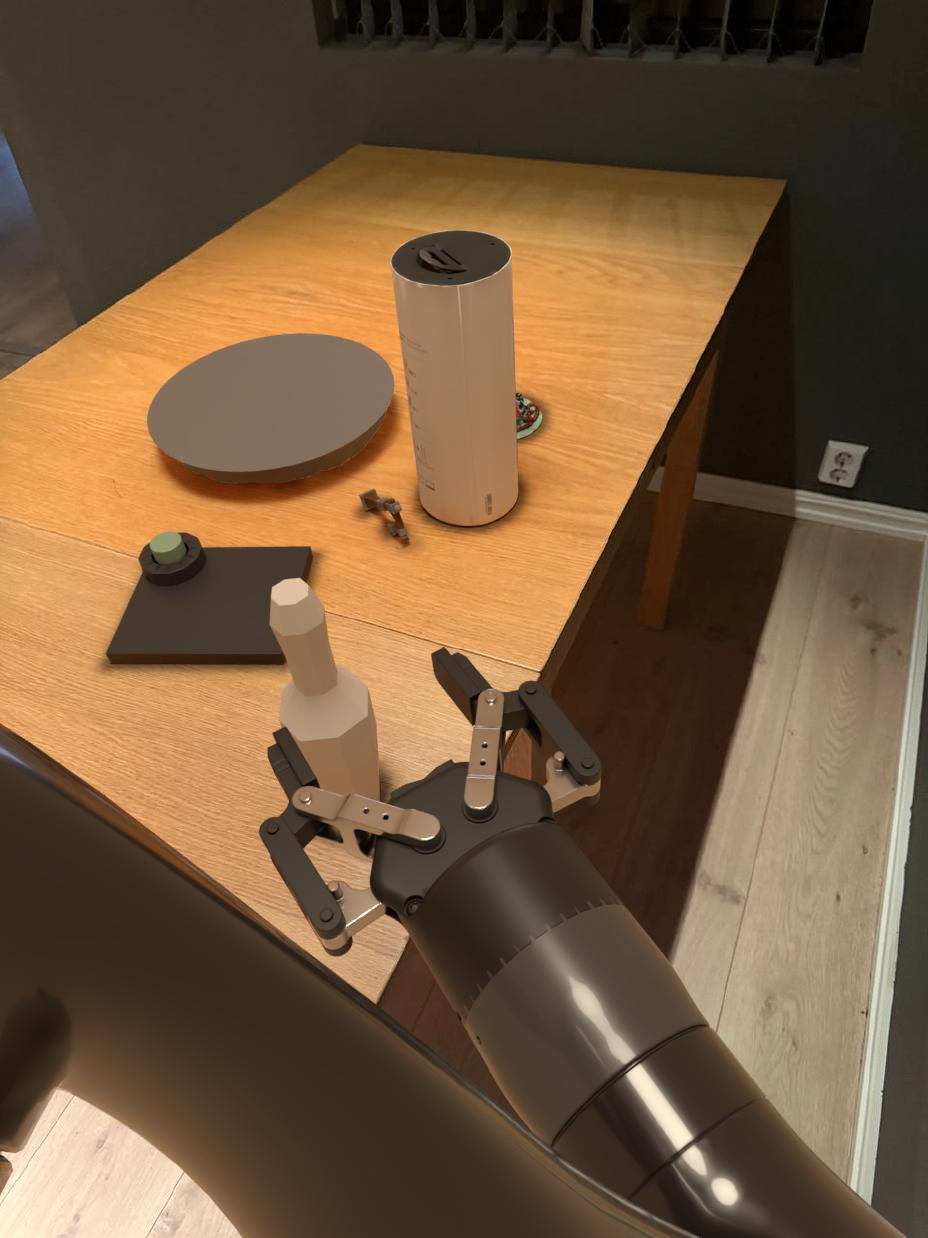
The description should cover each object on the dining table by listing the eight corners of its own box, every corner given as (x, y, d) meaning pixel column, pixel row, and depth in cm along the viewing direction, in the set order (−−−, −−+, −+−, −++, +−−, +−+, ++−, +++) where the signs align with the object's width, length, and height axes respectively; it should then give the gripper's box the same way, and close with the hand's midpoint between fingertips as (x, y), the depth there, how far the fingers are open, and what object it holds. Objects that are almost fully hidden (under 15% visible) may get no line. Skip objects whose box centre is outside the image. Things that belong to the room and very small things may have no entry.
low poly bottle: (300, 777, 69) (225, 575, 53) (376, 747, 71) (325, 542, 55) (324, 842, 65) (250, 645, 49) (404, 809, 67) (357, 608, 51)
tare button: (151, 566, 84) (145, 552, 83) (160, 544, 86) (154, 531, 85) (181, 565, 84) (176, 552, 82) (190, 544, 86) (185, 530, 85)
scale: (111, 663, 79) (98, 641, 77) (159, 554, 89) (149, 532, 87) (284, 664, 78) (276, 641, 76) (314, 553, 88) (308, 530, 85)
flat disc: (110, 482, 98) (95, 449, 95) (237, 354, 116) (228, 322, 113) (335, 525, 90) (327, 490, 87) (434, 380, 108) (431, 347, 105)
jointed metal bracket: (402, 546, 86) (387, 504, 84) (372, 532, 93) (358, 492, 91) (418, 539, 86) (404, 496, 85) (387, 525, 93) (373, 486, 91)
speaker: (533, 515, 89) (529, 262, 70) (435, 540, 88) (403, 288, 69) (501, 456, 96) (488, 213, 77) (409, 478, 95) (374, 236, 76)
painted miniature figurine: (498, 370, 104) (511, 363, 96) (540, 414, 105) (556, 411, 98) (451, 419, 104) (460, 416, 97) (493, 462, 106) (506, 463, 98)
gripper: (713, 833, 32) (480, 583, 42) (370, 1056, 28) (201, 719, 38) (691, 923, 38) (489, 682, 48) (401, 1121, 33) (246, 811, 44)
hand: (362, 699), depth 43 cm, fingers open, 8 cm apart
